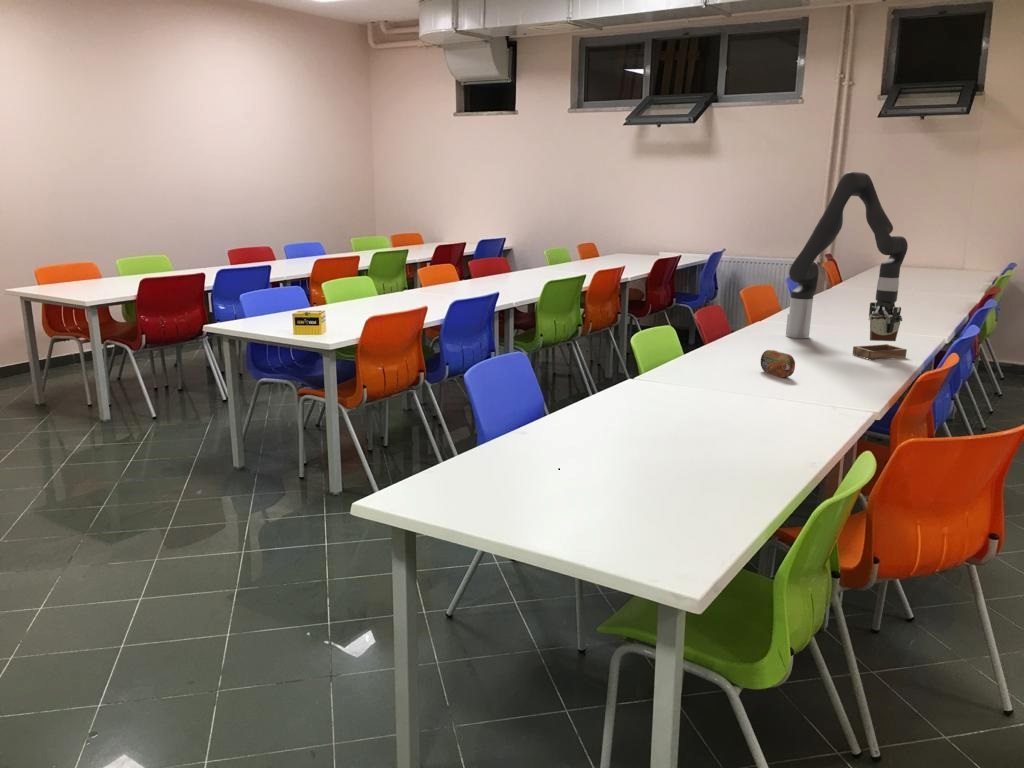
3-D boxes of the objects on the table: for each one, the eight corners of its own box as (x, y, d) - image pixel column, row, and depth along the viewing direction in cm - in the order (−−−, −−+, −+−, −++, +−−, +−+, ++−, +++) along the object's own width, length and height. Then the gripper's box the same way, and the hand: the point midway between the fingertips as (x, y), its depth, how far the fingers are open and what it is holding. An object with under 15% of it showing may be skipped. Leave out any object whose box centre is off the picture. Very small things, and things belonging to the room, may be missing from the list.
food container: (893, 338, 313) (897, 313, 311) (899, 341, 308) (903, 316, 305) (861, 337, 315) (864, 312, 312) (866, 340, 309) (869, 315, 306)
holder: (852, 354, 315) (853, 346, 314) (885, 352, 320) (886, 344, 319) (871, 360, 305) (872, 351, 304) (905, 357, 310) (906, 349, 309)
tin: (758, 370, 287) (760, 347, 285) (765, 369, 288) (767, 347, 286) (788, 380, 274) (790, 356, 272) (795, 379, 275) (797, 355, 273)
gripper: (866, 286, 311) (861, 328, 315) (893, 291, 298) (887, 335, 302) (881, 286, 313) (876, 327, 318) (909, 291, 300) (903, 334, 304)
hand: (882, 331), depth 310 cm, fingers closed on food container, 7 cm apart
